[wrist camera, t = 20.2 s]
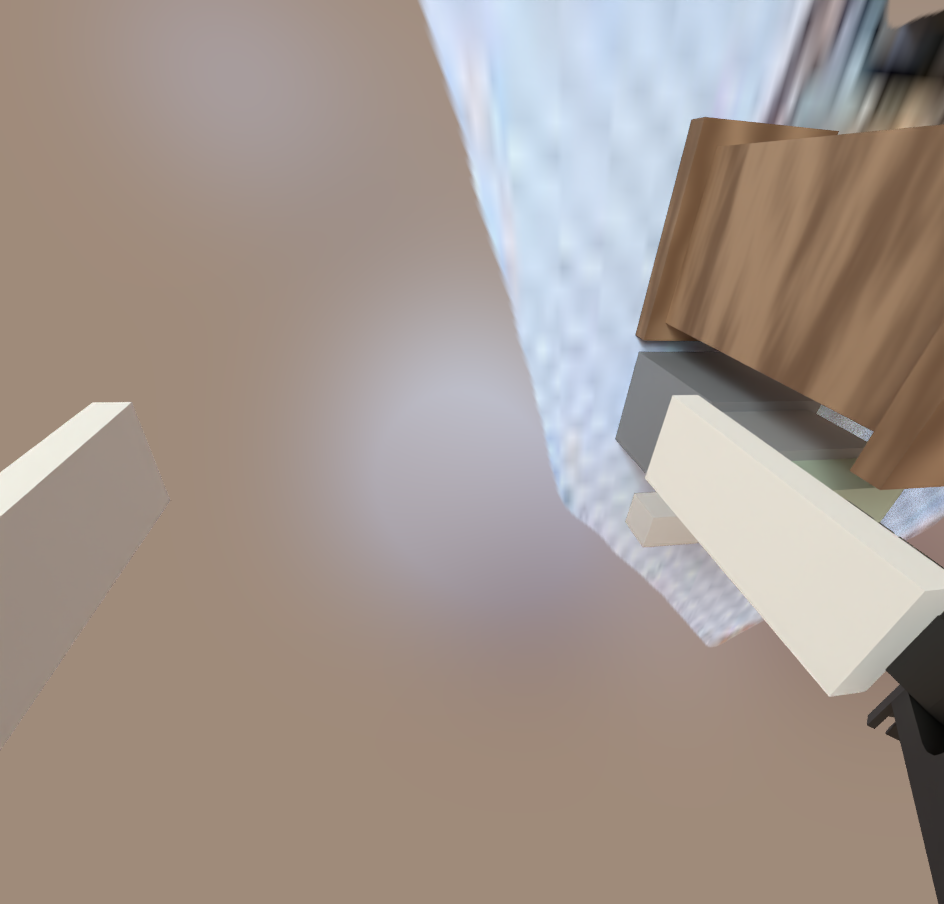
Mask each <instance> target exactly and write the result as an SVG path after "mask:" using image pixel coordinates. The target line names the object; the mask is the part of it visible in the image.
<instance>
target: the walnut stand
mask: <svg viewBox="0 0 944 904" xmlns="http://www.w3.org/2000/svg"><path fill="white" fill-rule="evenodd" d="M838 132H839V131H831V130H822V129H812V128H803V127H793V126H784V125H775V124H765V123H756V122H746V121H737V120H727V119H718V118H709V117H703V118H698V119H693V120H691V124H690V128H689V132H688V135H687V139H686V143H685V147H684V151H683V155H682V158H681V162H680V166H679V170H678V174H677V178H676V181H675V185H674V189H673V193H672V197H671V201H670V204H669V208H668V212H667V216H666V220H665V224H664V228H663V231H662V235H661V239H660V243H659V247H658V251H657V254H656V258H655V262H654V266H653V270H652V274H651V277H650V281H649V285H648V289H647V293H646V297H645V300H644V304H643V308H642V312H641V316H640V320H639V324H638V327H637V331H636V336H638V337H639V338H641V339H642V340H648V341H701V342H703V343H705V344H707V345H709V346H711V347H713V348H715V349H716V350H718V351H720V352H722V353H724V354H726V355H728V356H730V357H732V358H734V359H736V360H738V361H739V362H741V363H743V364H745V365H747V366H749V367H751V368H753V369H755V370H757V371H759V372H761V373H762V374H764V375H766V376H768V377H770V378H772V379H774V380H776V381H778V382H780V383H782V384H784V385H786V386H787V387H789V388H791V389H793V390H795V391H797V392H799V393H801V394H803V395H805V396H807V397H809V398H810V399H812V400H814V401H816V402H818V403H820V404H822V405H824V406H826V407H828V408H830V409H832V410H833V411H835V412H837V413H839V414H841V415H843V416H845V417H847V418H849V419H851V420H853V421H855V422H856V423H858V424H860V425H862V426H864V427H866V428H868V429H870V430H872V431H874V433H873V434H872V436H871V437H870V439H869V441H868V442H867V444H866V445H865V447H864V449H863V450H862V452H861V453H860V455H859V456H858V458H857V460H856V461H855V463H854V464H853V466H852V468H851V469H850V472H852V473H854V474H855V475H857V476H858V477H860V478H862V479H863V480H865V481H866V482H868V483H869V484H871V485H873V486H874V487H876V488H877V489H879V490H891V489H908V488H924V487H941V486H944V125H934V126H923V127H913V128H903V129H893V130H882V131H872V132H862V133H852V134H842V135H837V134H838Z"/></svg>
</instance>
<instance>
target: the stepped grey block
mask: <svg viewBox="0 0 944 904" xmlns="http://www.w3.org/2000/svg"><path fill="white" fill-rule="evenodd" d="M672 395H699V396H700V397H702V398H703V399H704V400H706V401H707V402H709V403H710V404H712V405H713V406H714V407H716V408H717V409H719V410H720V411H721V412H723V413H724V414H726V415H727V416H728V417H730V418H731V419H733V420H734V421H735V422H737V423H738V424H740V425H741V426H743V427H744V428H745V429H747V430H748V431H750V432H751V433H752V434H754V435H755V436H757V437H758V438H759V439H761V440H762V441H764V442H765V443H766V444H768V445H769V446H771V447H772V448H774V449H775V450H776V451H778V452H779V453H781V454H782V455H783V456H785V457H786V458H788V459H789V460H790V461H805V460H828V459H851V458H858V456H859V455H860V453H861V452H862V450H863V449H864V447H865V445H866V444H867V442H866V441H864V440H863V439H861V438H859V437H857V436H855V435H854V434H852V433H850V432H848V431H846V430H844V429H843V428H841V427H839V426H837V425H835V424H834V423H832V422H830V421H828V420H826V419H824V418H823V417H821V416H819V415H817V414H816V413H817V411H818V409H819V407H820V405H821V404H820V403H818V402H816V401H814V400H812V399H810V398H809V397H807V396H805V395H803V394H801V393H799V392H797V391H795V390H793V389H791V388H789V387H787V386H786V385H784V384H782V383H780V382H778V381H776V380H774V379H772V378H770V377H768V376H766V375H764V374H762V373H761V372H759V371H757V370H755V369H753V368H751V367H749V366H747V365H745V364H743V363H741V362H739V361H738V360H736V359H734V358H732V357H730V356H728V355H726V354H724V353H722V352H639V353H638V357H637V361H636V365H635V368H634V372H633V376H632V379H631V383H630V387H629V390H628V394H627V398H626V402H625V405H624V409H623V413H622V416H621V420H620V424H619V427H618V431H617V435H616V440H617V441H618V442H619V444H620V445H621V446H622V447H623V448H624V449H625V450H626V452H627V453H628V454H629V455H630V456H631V457H632V459H633V460H634V461H635V462H636V463H637V464H638V465H639V467H640V468H641V469H642V470H643V471H644V472H645V473H647V470H648V467H649V464H650V461H651V458H652V455H653V452H654V449H655V446H656V443H657V440H658V437H659V434H660V431H661V428H662V425H663V422H664V419H665V416H666V413H667V410H668V407H669V404H670V401H671V398H672Z"/></svg>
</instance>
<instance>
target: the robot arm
mask: <svg viewBox="0 0 944 904" xmlns="http://www.w3.org/2000/svg"><path fill="white" fill-rule="evenodd" d="M645 479H646V480H647V481H648V482H649V484H650V485H651V486H652V487H653V488H654V490H655V491H656V492H657V493H658V494H659V495H660V497H661V498H662V499H663V500H664V501H665V503H666V504H667V505H668V506H669V507H670V509H671V510H672V511H673V512H674V513H675V514H676V516H677V517H678V518H679V519H680V520H681V522H682V523H683V524H684V525H685V526H686V527H687V529H688V530H689V531H690V532H691V533H692V535H693V536H694V537H695V538H696V539H697V541H698V542H699V543H700V544H701V545H702V546H703V548H704V549H705V550H706V551H707V552H708V554H709V555H710V556H711V557H712V558H713V559H714V561H715V562H716V563H717V564H718V565H719V567H720V568H721V569H722V570H723V571H724V573H725V574H726V575H727V576H728V577H729V578H730V580H731V581H732V582H733V583H734V584H735V586H736V587H737V588H738V589H739V590H740V591H741V593H742V594H743V595H744V596H745V597H746V599H747V600H748V601H749V602H750V603H751V605H752V606H753V607H754V608H755V609H756V610H757V612H758V613H759V614H760V615H761V616H762V618H763V619H764V620H765V621H766V622H767V623H768V625H769V626H770V627H771V628H772V629H773V630H774V632H775V633H776V634H777V635H778V636H779V638H780V639H781V640H782V641H783V642H784V644H785V645H786V646H787V647H788V648H789V649H790V651H791V652H792V653H793V654H794V655H795V657H796V658H797V659H798V660H799V661H800V663H801V664H802V665H803V666H804V667H805V668H806V670H807V671H808V672H809V673H810V674H811V676H812V677H813V678H814V679H815V680H816V682H817V683H818V684H819V685H820V686H821V688H822V689H823V690H824V691H825V692H826V693H827V695H828V696H829V697H831V696H837V695H844V694H851V693H858V692H864V691H866V690H867V689H868V688H869V687H870V686H871V685H872V684H873V683H874V682H875V681H876V680H877V679H878V678H879V677H880V676H881V675H882V674H883V673H884V672H885V671H887V672H888V673H889V674H890V675H891V676H892V677H893V678H894V679H895V680H896V681H897V682H898V683H899V684H900V685H899V686H898V687H897V688H896V689H895V690H894V691H893V692H892V693H891V694H890V695H889V696H887V698H886V699H884V700H883V701H882V702H881V703H880V704H879V705H878V706H877V707H876V708H875V709H874V710H873V711H872V712H871V713H870V714H869V715H868V720H867V725H868V726H870V727H872V728H874V729H875V728H876V727H877V726H878V725H879V724H880V723H881V722H882V721H884V719H886V718H887V717H888V716H890V717H895V721H896V722H895V723H894V724H893V725H891V726H890V727H889V729H888V730H887V731H886V734H887V735H889V736H891V737H893V738H895V739H897V740H899V741H900V743H901V747H902V751H903V755H904V759H905V764H906V768H907V772H908V777H909V781H910V785H911V789H912V793H913V798H914V802H915V806H916V810H917V815H918V819H919V823H920V827H921V832H922V836H923V840H924V844H925V849H926V853H927V857H928V861H929V865H930V870H931V874H932V878H933V883H934V887H935V891H936V895H937V899H938V904H944V568H943V567H942V566H940V565H939V564H938V563H936V562H935V561H933V560H932V559H930V558H929V557H928V556H926V555H925V554H923V553H922V552H921V551H919V550H918V549H916V548H915V547H913V546H912V545H911V544H909V543H908V542H906V541H905V540H904V539H902V538H901V537H898V536H896V535H895V534H894V532H892V531H891V530H889V529H888V528H887V527H885V526H884V525H882V524H881V523H880V522H876V521H875V520H874V518H872V517H871V516H870V515H868V514H867V513H865V512H864V511H863V510H861V509H860V508H858V507H857V506H855V505H854V504H853V503H851V502H850V501H848V500H846V499H844V498H843V497H841V496H840V495H838V494H837V493H836V492H834V491H833V490H831V489H830V488H828V487H827V486H826V485H824V484H823V483H821V482H820V481H819V480H817V479H816V478H814V477H813V476H812V475H810V474H809V473H807V472H806V471H805V470H803V469H802V468H800V467H799V466H797V465H796V464H795V463H793V462H792V461H790V460H789V459H788V458H786V457H785V456H783V455H782V454H781V453H779V452H778V451H776V450H775V449H774V448H772V447H771V446H769V445H768V444H766V443H765V442H764V441H762V440H761V439H759V438H758V437H757V436H755V435H754V434H752V433H751V432H750V431H748V430H747V429H745V428H744V427H743V426H741V425H740V424H738V423H737V422H735V421H734V420H733V419H731V418H730V417H728V416H727V415H726V414H724V413H723V412H721V411H720V410H719V409H717V408H716V407H714V406H713V405H712V404H710V403H709V402H707V401H706V400H704V399H703V398H702V397H700V396H699V395H672V398H671V401H670V404H669V407H668V410H667V413H666V416H665V419H664V422H663V425H662V428H661V431H660V434H659V437H658V440H657V443H656V446H655V449H654V452H653V455H652V458H651V461H650V464H649V467H648V470H647V473H646V476H645ZM169 502H170V498H169V496H168V493H167V491H166V488H165V486H164V483H163V480H162V478H161V475H160V473H159V470H158V468H157V465H156V463H155V460H154V457H153V455H152V452H151V450H150V447H149V445H148V442H147V440H146V437H145V435H144V432H143V429H142V427H141V424H140V422H139V419H138V417H137V414H136V412H135V409H134V406H133V404H132V402H105V403H104V402H102V403H92V404H90V405H89V406H88V407H86V408H85V409H84V410H82V411H81V412H80V413H78V414H77V415H76V416H74V417H73V418H72V419H70V420H69V421H68V422H66V423H65V424H64V425H62V426H61V427H60V428H58V429H57V430H56V431H55V432H53V433H52V434H51V435H49V436H48V437H47V438H45V439H44V440H43V441H41V442H40V443H39V444H37V445H36V446H35V447H33V448H32V449H31V450H29V451H28V452H27V453H26V454H24V455H23V456H22V457H20V458H19V459H18V460H16V461H15V462H14V463H12V464H11V465H10V466H8V467H7V468H6V469H4V470H3V471H2V472H0V750H1V749H2V747H3V746H4V744H5V743H6V741H7V740H8V739H9V737H10V736H11V734H12V733H13V731H14V730H15V728H16V727H17V725H18V724H19V722H20V721H21V719H22V718H23V716H24V715H25V713H26V712H27V711H28V709H29V708H30V706H31V705H32V703H33V702H34V700H35V699H36V697H37V696H38V694H39V693H40V691H41V690H42V689H43V687H44V685H45V684H46V683H47V681H48V680H49V678H50V677H51V675H52V674H53V672H54V671H55V669H56V668H57V667H58V665H59V664H60V662H61V661H62V659H63V658H64V656H65V655H66V653H67V652H68V650H69V649H70V647H71V646H72V644H73V643H74V642H75V640H76V639H77V637H78V636H79V634H80V633H81V631H82V630H83V628H84V627H85V625H86V624H87V622H88V621H89V619H90V618H91V616H92V615H93V613H94V612H95V611H96V609H97V607H98V606H99V605H100V603H101V602H102V600H103V599H104V597H105V596H106V594H107V593H108V592H109V590H110V588H111V587H112V586H113V584H114V583H115V581H116V580H117V578H118V577H119V575H120V574H121V572H122V571H123V569H124V568H125V567H126V565H127V564H128V562H129V561H130V559H131V558H132V556H133V555H134V553H135V552H136V550H137V549H138V547H139V546H140V544H141V543H142V541H143V540H144V539H145V537H146V535H147V534H148V533H149V531H150V530H151V528H152V527H153V525H154V524H155V522H156V521H157V519H158V518H159V517H160V515H161V513H162V512H163V511H164V509H165V508H166V506H167V505H168V503H169Z"/></svg>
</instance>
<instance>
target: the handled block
mask: <svg viewBox="0 0 944 904" xmlns="http://www.w3.org/2000/svg"><path fill="white" fill-rule="evenodd" d="M856 460H857V458H851V459H828V460H805V461H792V462H793V463H795V464H796V465H797V466H799V467H800V468H802V469H803V470H805V471H806V472H807V473H809V474H810V475H812V476H813V477H814V478H816V479H817V480H819V481H820V482H821V483H823V484H824V485H826V486H827V487H828V488H830V489H831V490H833V491H834V492H836V493H837V494H838V495H840V496H841V497H843V498H844V499H846V500H848V501H850V502H851V503H853V504H854V505H855V506H857V507H858V508H860V509H861V510H863V511H864V512H865V513H867V514H868V515H870V516H871V517H872V518H874V520H875V521H876V522H881V520H882V519H883V518H884V516H885V515H886V513H887V512H888V511H889V509H890V508H891V507H892V505H893V504H894V502H895V501H896V500H897V498H898V497H899V496H900V494H901V493H902V491H903V490H904V489H891V490H879V489H877V488H876V487H874V486H873V485H871V484H869V483H868V482H866V481H865V480H863V479H862V478H860V477H858V476H857V475H855V474H854V473H852V472H850V469H851V468H852V466H853V464H854V463H855V461H856ZM625 522H626V524H627V525H628V527H629V528H630V529H631V531H632V532H633V534H634V535H635V537H636V538H637V540H638V541H639V543H640V544H641V545H642V547H655V546H668V545H681V544H694V543H699V542H698V541H697V539H696V538H695V537H694V536H693V535H692V533H691V532H690V531H689V530H688V529H687V527H686V526H685V525H684V524H683V523H682V522H681V520H680V519H679V518H678V517H677V516H676V514H675V513H674V512H673V511H672V510H671V509H670V507H669V506H668V505H667V504H666V503H665V501H664V500H663V499H662V498H661V497H660V495H659V494H658V493H657V492H650V493H635V494H634V497H633V500H632V503H631V506H630V509H629V512H628V515H627V518H626V521H625Z"/></svg>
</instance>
